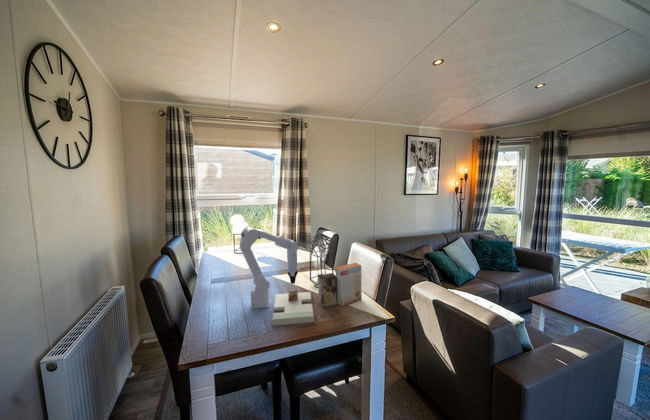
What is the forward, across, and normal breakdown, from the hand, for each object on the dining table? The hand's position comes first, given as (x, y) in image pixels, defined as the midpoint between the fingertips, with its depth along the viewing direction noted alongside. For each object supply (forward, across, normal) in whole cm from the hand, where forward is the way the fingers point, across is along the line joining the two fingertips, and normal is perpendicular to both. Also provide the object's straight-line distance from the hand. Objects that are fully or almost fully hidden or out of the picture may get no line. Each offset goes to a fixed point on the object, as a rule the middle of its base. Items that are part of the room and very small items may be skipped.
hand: (293, 283), depth 144 cm
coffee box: (+8, -12, -19) cm, 24 cm away
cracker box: (+8, -12, -31) cm, 34 cm away
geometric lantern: (+8, +12, -18) cm, 23 cm away
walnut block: (+6, -8, 0) cm, 10 cm away
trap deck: (+8, -14, 0) cm, 17 cm away
